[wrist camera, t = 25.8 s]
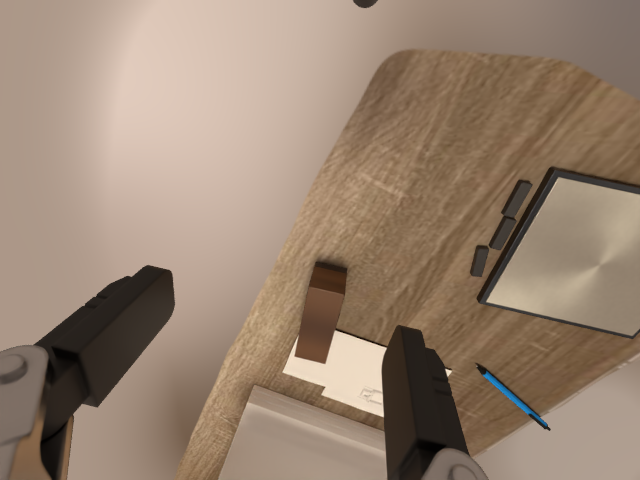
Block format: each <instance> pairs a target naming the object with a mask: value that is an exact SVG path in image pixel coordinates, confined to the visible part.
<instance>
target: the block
mask: <svg viewBox="0 0 640 480" xmlns="http://www.w3.org/2000/svg"><path fill="white" fill-rule="evenodd" d="M218 480H387V466H386V448H385V432H384V431H381V430H379V429H376V428H373V427H370V426H368V425H365V424H362V423H359V422H357V421H354V420H351V419H348V418H346V417H343V416H340V415H337V414H335V413H332V412H329V411H326V410H324V409H321V408H318V407H315V406H312V405H310V404H307V403H304V402H301V401H299V400H296V399H293V398H290V397H288V396H285V395H282V394H279V393H277V392H274V391H271V390H268V389H266V388H263V387H260V386H257V385H255V384H254V387H253V389H252V392H251V394H250V397H249V399H248V402H247V404H246V407H245V409H244V412H243V415H242V417H241V420H240V423H239V425H238V428H237V430H236V433H235V436H234V438H233V441H232V444H231V446H230V449H229V452H228V454H227V457H226V460H225V462H224V465H223V467H222V470H221V473H220V475H219V478H218Z"/></svg>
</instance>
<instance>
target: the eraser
mask: <svg viewBox="0 0 640 480" xmlns="http://www.w3.org/2000/svg"><path fill="white" fill-rule="evenodd" d="M346 277H347V269H345V268H340V267H336V266H332V265H327V264H323V263H319V262H316V263H315V267H314V270H313V274H312V277H311V280H310V284H309V288H308V293H307V297H306V302H305V307H304V312H303V317H302V321H301V326H300V331H299V336H298V341H297V346H296V350H295V355H294V357H298V358H302V359H306V360H310V361H314V362H318V363H322V364H326V360H327V357H328V353H329V350H330V346H331V342H332V339H333V335H334V332H335V328H336V325H337V321H338V317H339V314H340V310H341V307H342V303H343V300H344V296H345V287H346Z"/></svg>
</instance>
